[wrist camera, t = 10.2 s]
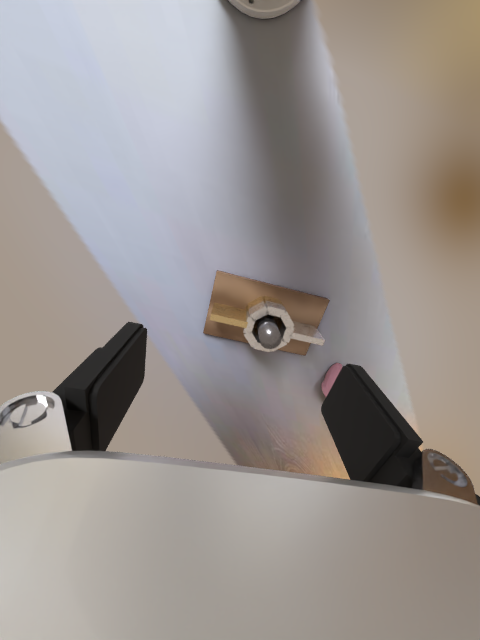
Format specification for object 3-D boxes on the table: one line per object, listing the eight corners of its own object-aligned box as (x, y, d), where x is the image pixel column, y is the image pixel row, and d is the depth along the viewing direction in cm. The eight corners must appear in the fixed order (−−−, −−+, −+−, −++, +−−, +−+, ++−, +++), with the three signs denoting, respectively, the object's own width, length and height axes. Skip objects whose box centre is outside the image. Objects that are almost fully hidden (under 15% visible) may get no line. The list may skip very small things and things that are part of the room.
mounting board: (217, 270, 35) (216, 271, 34) (327, 298, 37) (329, 300, 36) (203, 330, 39) (203, 333, 38) (303, 352, 42) (305, 355, 41)
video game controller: (318, 365, 45) (316, 396, 40) (339, 359, 42) (340, 392, 37) (345, 392, 48) (346, 424, 43) (367, 388, 45) (370, 422, 40)
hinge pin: (258, 306, 37) (263, 327, 29) (275, 311, 37) (284, 332, 30) (252, 322, 38) (256, 346, 30) (269, 327, 38) (277, 351, 31)
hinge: (218, 284, 35) (215, 293, 30) (321, 309, 37) (333, 322, 33) (209, 324, 38) (205, 338, 33) (305, 346, 40) (314, 362, 35)
